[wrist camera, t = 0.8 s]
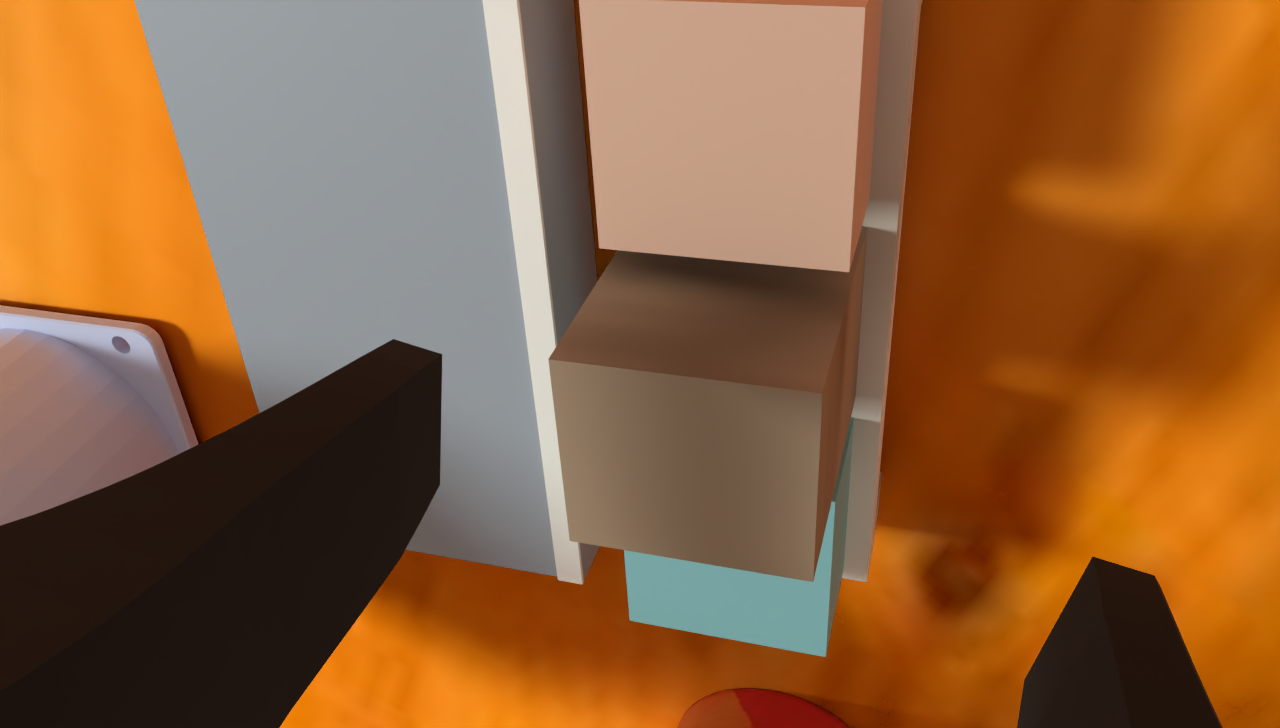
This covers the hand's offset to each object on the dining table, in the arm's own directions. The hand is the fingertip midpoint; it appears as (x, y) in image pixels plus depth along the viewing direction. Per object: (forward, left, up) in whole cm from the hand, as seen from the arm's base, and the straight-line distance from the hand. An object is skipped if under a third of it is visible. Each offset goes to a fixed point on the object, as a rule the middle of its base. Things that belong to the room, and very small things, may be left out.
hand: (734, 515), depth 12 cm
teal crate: (-2, -7, -9) cm, 11 cm away
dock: (-9, -3, -11) cm, 14 cm away
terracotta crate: (-2, +2, -9) cm, 9 cm away
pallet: (-2, -3, -11) cm, 11 cm away
